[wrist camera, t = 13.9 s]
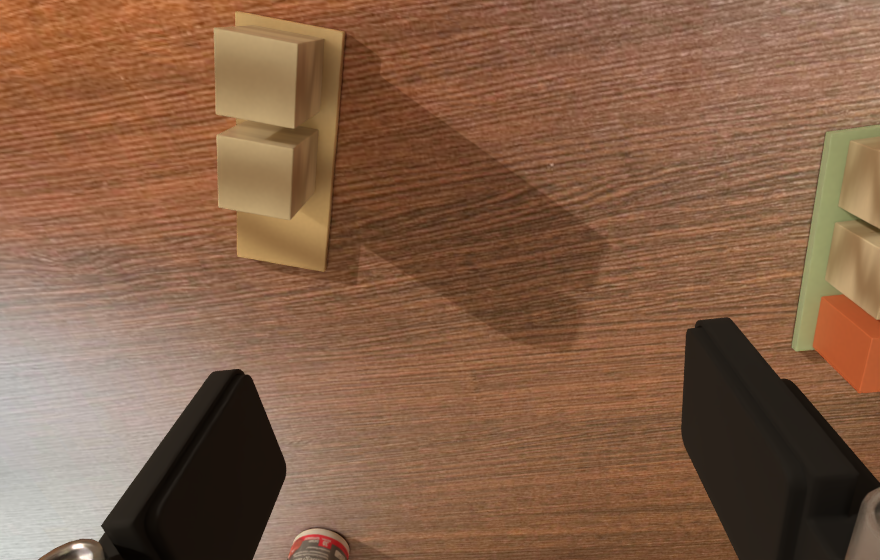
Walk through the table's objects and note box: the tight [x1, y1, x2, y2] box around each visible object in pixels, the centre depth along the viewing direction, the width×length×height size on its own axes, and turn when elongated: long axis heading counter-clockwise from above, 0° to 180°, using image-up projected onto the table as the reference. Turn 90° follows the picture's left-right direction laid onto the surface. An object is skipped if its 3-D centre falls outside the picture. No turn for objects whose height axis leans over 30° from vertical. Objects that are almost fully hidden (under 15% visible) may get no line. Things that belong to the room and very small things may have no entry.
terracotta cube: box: [813, 294, 880, 393], centre depth 33 cm, size 4×4×5 cm
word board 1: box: [214, 11, 346, 272], centre depth 30 cm, size 15×6×6 cm, turn 170°
